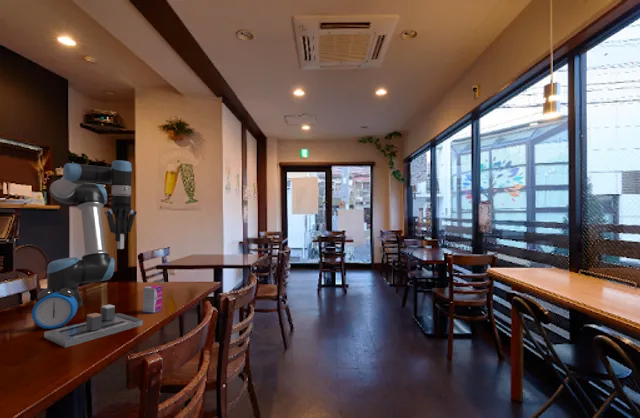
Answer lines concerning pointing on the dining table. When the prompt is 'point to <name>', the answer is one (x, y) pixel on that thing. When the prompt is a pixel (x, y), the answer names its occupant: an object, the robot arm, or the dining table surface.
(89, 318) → the fader terracotta
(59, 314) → the alarm clock
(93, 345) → the dining table surface
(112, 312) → the fader white
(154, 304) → the supplement box
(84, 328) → the console
